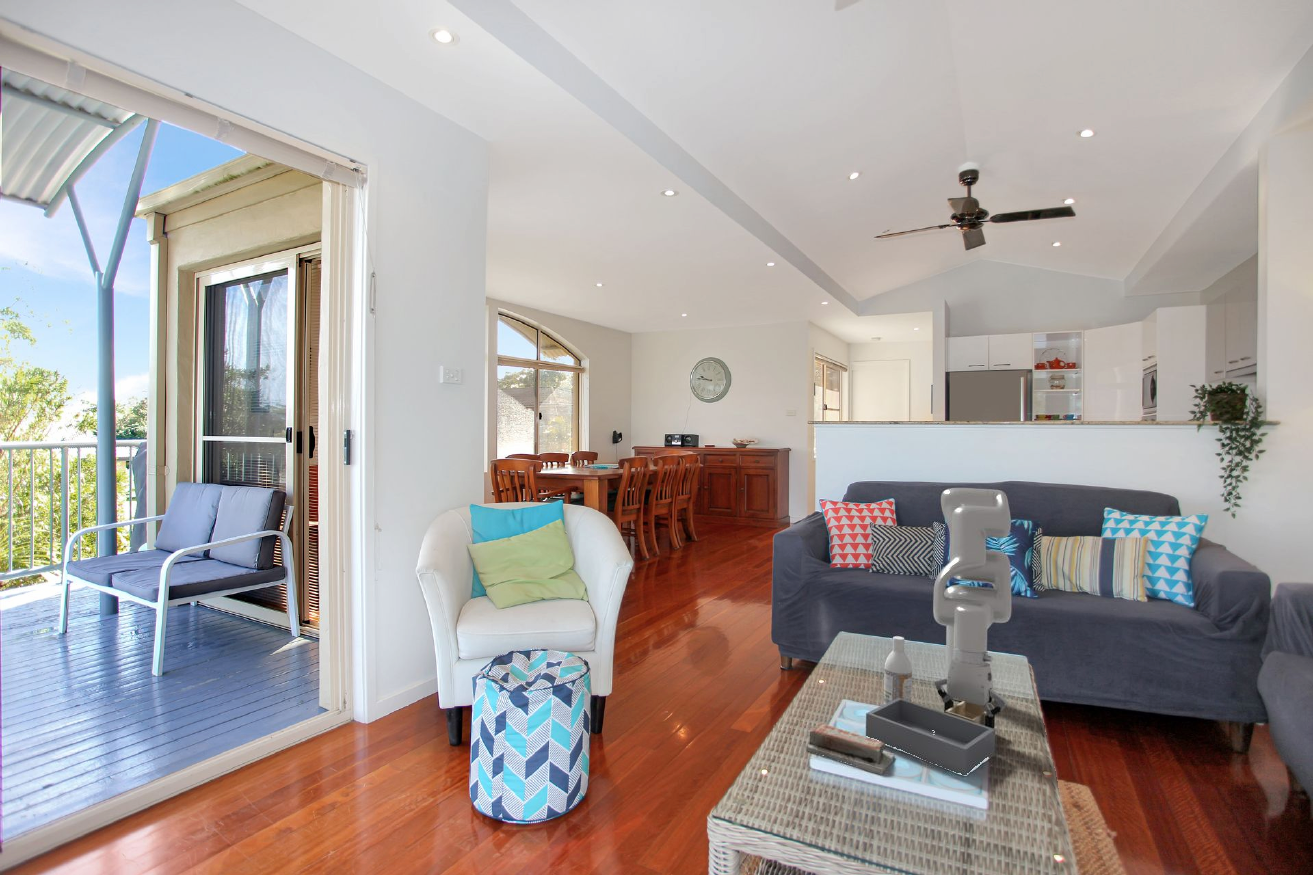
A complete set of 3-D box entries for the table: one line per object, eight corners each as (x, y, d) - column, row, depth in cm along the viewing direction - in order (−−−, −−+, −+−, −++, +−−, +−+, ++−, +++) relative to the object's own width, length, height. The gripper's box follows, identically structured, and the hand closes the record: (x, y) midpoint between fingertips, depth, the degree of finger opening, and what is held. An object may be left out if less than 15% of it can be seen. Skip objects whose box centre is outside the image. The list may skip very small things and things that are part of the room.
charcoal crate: (898, 720, 169) (898, 697, 169) (994, 754, 151) (995, 729, 151) (865, 737, 158) (866, 713, 159) (965, 777, 140) (965, 749, 140)
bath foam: (900, 719, 170) (901, 643, 170) (878, 709, 176) (879, 636, 176) (916, 713, 174) (917, 639, 174) (894, 704, 179) (895, 632, 180)
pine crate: (963, 723, 169) (964, 700, 169) (991, 732, 163) (992, 709, 163) (944, 735, 161) (945, 711, 161) (973, 745, 156) (973, 720, 156)
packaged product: (804, 731, 151) (820, 717, 159) (804, 752, 151) (820, 737, 159) (882, 754, 141) (895, 738, 149) (882, 776, 141) (895, 759, 149)
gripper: (1012, 661, 158) (1011, 732, 158) (942, 644, 171) (941, 709, 171) (1000, 668, 153) (999, 740, 153) (929, 649, 166) (928, 716, 166)
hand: (968, 724), depth 162 cm, fingers open, 9 cm apart
